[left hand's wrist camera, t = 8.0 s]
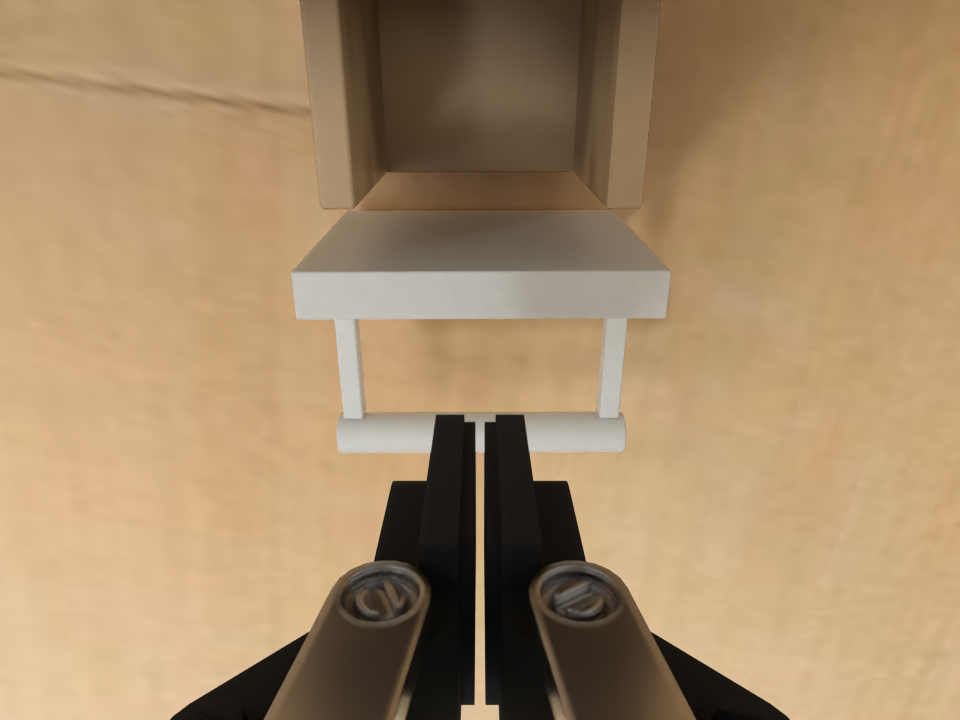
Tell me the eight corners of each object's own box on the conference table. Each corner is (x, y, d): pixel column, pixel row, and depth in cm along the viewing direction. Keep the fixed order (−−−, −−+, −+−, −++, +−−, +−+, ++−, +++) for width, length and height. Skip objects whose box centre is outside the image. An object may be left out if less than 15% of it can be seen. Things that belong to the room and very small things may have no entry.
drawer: (599, 388, 25) (644, 507, 18) (362, 389, 25) (318, 507, 18) (644, -193, 18) (744, -351, 11) (313, -192, 18) (214, -349, 11)
